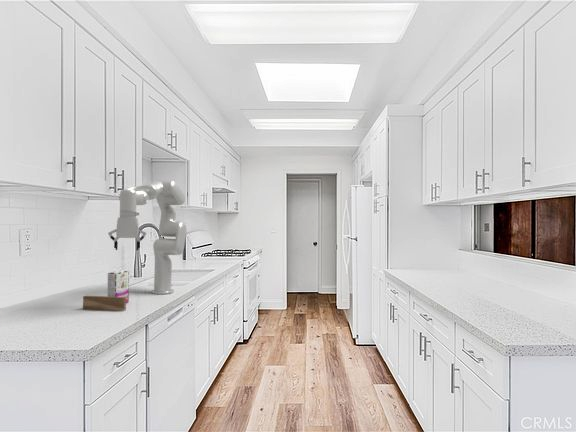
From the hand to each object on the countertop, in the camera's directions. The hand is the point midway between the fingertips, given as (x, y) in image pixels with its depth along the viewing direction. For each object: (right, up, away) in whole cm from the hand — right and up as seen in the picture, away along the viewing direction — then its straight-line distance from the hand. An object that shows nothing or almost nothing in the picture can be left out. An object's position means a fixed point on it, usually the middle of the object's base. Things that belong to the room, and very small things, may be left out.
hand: (127, 249), depth 200 cm
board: (-7, -27, -9) cm, 30 cm away
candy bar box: (-6, -28, +4) cm, 29 cm away
